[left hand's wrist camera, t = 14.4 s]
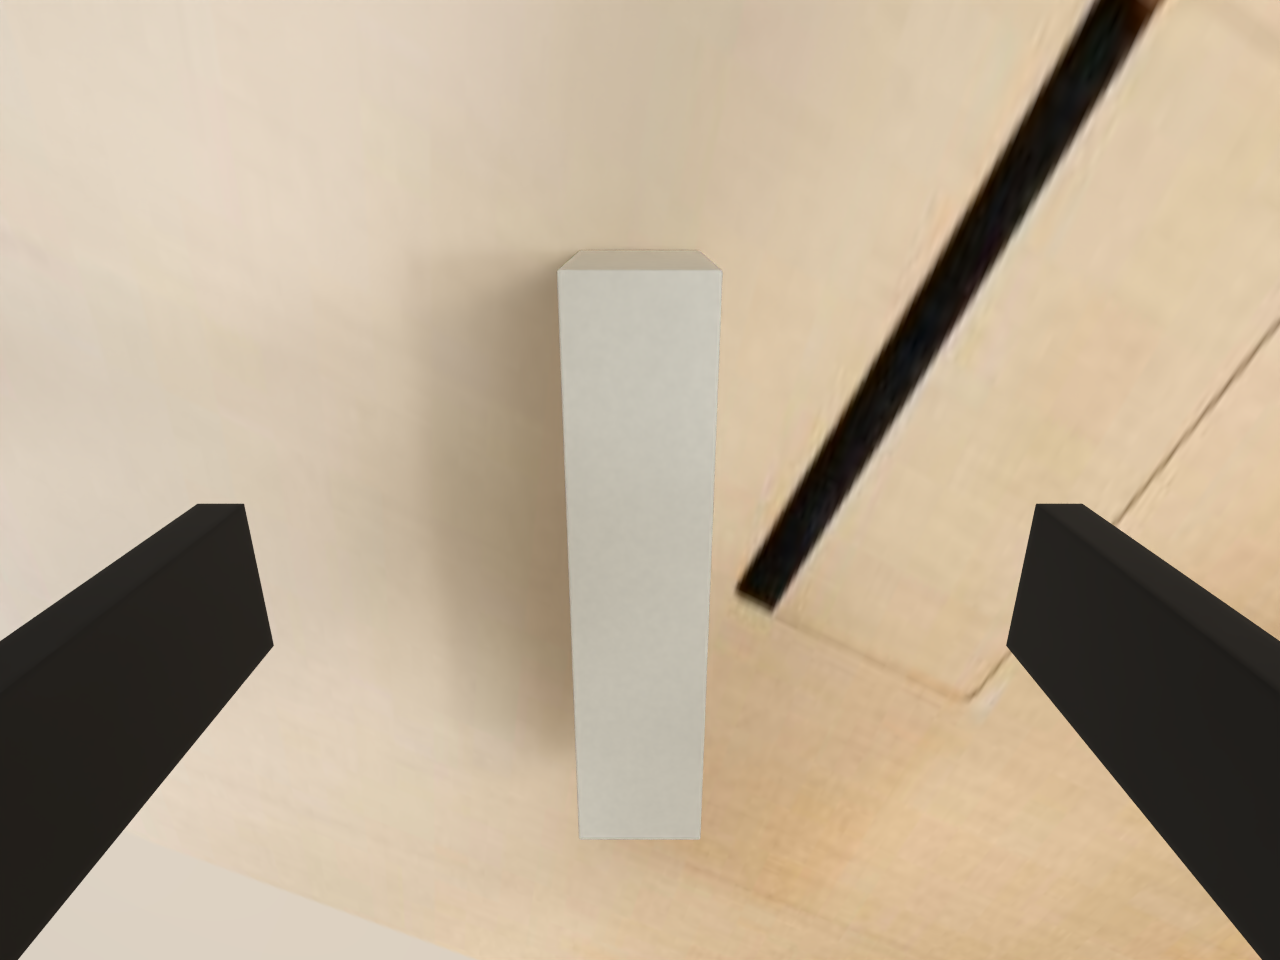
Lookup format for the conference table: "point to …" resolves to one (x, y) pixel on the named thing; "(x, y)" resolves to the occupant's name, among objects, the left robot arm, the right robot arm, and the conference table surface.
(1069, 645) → the left robot arm
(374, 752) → the conference table surface
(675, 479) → the bar
